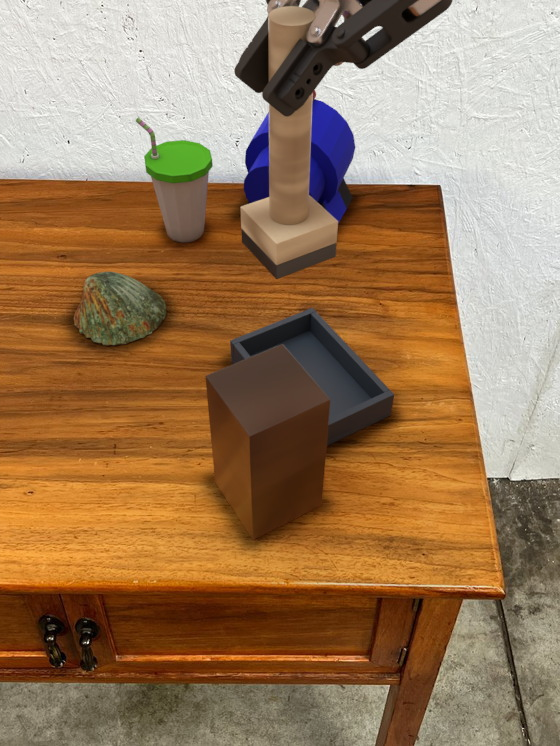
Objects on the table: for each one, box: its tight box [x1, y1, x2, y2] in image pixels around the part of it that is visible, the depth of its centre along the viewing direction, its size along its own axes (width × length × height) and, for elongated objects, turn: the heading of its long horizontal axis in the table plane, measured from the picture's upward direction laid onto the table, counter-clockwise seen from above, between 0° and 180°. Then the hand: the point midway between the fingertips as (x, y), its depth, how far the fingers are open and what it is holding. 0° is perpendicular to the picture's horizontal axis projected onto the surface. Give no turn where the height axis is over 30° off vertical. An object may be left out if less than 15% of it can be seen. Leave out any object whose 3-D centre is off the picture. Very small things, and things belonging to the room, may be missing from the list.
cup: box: [135, 116, 213, 244], centre depth 91 cm, size 8×8×15 cm
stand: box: [205, 344, 330, 541], centre depth 64 cm, size 7×7×14 cm
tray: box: [229, 307, 395, 447], centre depth 77 cm, size 14×10×3 cm
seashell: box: [73, 271, 168, 347], centre depth 84 cm, size 10×4×10 cm
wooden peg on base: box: [240, 6, 339, 280], centre depth 48 cm, size 5×5×16 cm
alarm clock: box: [239, 89, 356, 224], centre depth 94 cm, size 12×12×15 cm
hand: (261, 94), depth 45 cm, fingers closed on wooden peg on base, 2 cm apart
